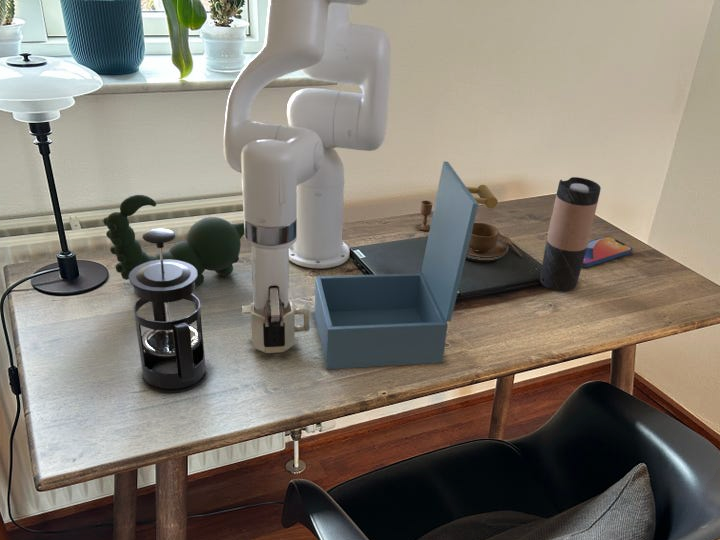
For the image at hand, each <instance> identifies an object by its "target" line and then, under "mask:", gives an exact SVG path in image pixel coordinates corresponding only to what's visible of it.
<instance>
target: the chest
mask: <svg viewBox="0 0 720 540" xmlns="http://www.w3.org/2000/svg"><path fill="white" fill-rule="evenodd" d="M314 316H315V320H316V326H317V331H318V334H319V339H320V344H321V350H322V352H323V358H324V361H325V362H324V363H325V366H326V367H325V368H326V370H336V369H337V370H338V369H357V368H372V367H373V368H374V367H390V366H392V367H393V366H406V365H407V366H409V365H425V364H429V365H430V364H442V363H444V357H445V356H444V355H445V348H446V340H447V334H448V326H449V324H448V322H446V321H445V318H444V316H443V314H442V312H441V310H440V308H439V306H438V304H437V302H436V300H435V298H434V296H433V294H432V291H431V289H430V287H429V285H428V283H427V281H426V279H425V277H424V275H423V273H422V272H418V273H386V274H385V273H383V274H381V273H380V274H379V273H378V274H354V275H353V274H352V275H351V274H348V275H347V274H346V275H320V276H319V275H316V276H315V278H314Z"/></svg>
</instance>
